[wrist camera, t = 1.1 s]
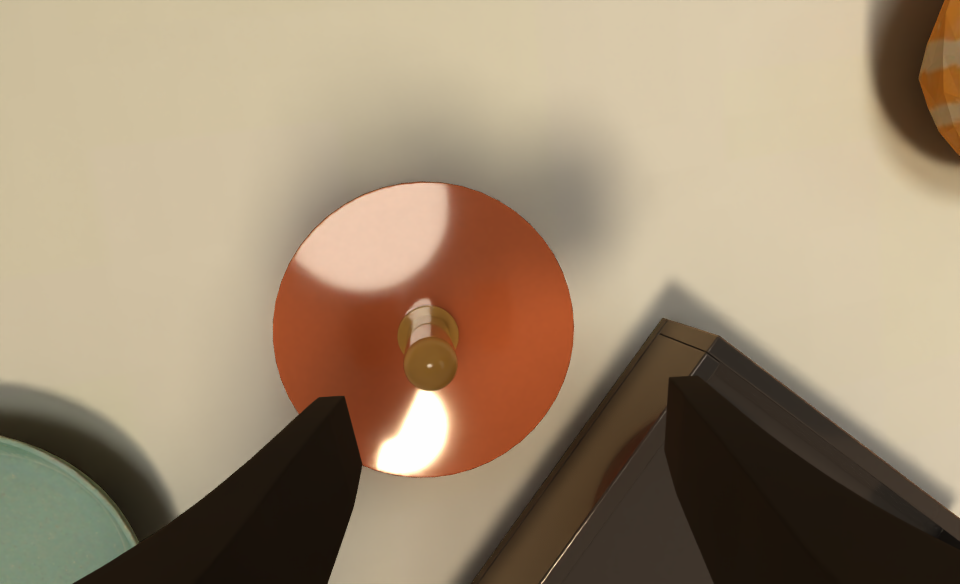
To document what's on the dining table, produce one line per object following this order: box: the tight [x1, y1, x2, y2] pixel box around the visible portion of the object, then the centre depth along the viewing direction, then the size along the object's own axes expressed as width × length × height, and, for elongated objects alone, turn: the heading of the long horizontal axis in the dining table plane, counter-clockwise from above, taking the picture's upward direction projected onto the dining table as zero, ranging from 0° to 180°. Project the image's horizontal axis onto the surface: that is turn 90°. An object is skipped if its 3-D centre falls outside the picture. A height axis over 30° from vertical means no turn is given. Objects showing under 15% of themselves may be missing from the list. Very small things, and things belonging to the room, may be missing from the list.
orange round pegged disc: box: [273, 182, 574, 477], centre depth 20 cm, size 13×13×7 cm
